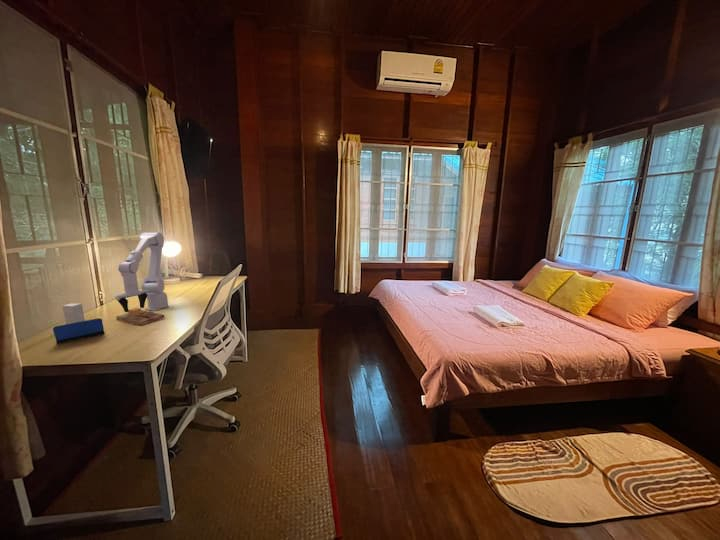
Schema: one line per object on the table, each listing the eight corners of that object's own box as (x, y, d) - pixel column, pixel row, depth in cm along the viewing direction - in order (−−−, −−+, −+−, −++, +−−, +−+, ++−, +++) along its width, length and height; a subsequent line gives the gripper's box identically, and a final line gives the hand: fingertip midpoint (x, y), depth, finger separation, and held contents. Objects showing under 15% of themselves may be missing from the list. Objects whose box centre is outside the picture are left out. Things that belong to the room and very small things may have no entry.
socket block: (141, 313, 168) (141, 309, 168) (164, 318, 160) (164, 314, 159) (116, 320, 157) (116, 316, 157) (140, 325, 149) (139, 322, 148)
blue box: (103, 329, 145) (100, 310, 143) (105, 337, 136) (102, 317, 134) (57, 338, 135) (53, 318, 133) (56, 348, 125) (52, 326, 123)
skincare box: (86, 327, 147) (82, 303, 145) (77, 330, 143) (73, 306, 141) (75, 326, 148) (70, 303, 146) (66, 330, 144) (61, 305, 142)
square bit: (137, 316, 163) (136, 307, 162) (142, 317, 161) (140, 308, 160) (129, 318, 159) (127, 309, 158) (133, 319, 158) (132, 310, 157)
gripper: (141, 281, 165) (144, 305, 168) (110, 286, 152) (114, 312, 155) (149, 282, 162) (152, 306, 165) (118, 288, 149) (122, 314, 152)
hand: (134, 309), depth 160 cm, fingers open, 7 cm apart
